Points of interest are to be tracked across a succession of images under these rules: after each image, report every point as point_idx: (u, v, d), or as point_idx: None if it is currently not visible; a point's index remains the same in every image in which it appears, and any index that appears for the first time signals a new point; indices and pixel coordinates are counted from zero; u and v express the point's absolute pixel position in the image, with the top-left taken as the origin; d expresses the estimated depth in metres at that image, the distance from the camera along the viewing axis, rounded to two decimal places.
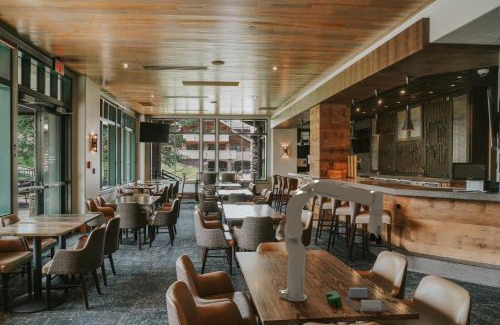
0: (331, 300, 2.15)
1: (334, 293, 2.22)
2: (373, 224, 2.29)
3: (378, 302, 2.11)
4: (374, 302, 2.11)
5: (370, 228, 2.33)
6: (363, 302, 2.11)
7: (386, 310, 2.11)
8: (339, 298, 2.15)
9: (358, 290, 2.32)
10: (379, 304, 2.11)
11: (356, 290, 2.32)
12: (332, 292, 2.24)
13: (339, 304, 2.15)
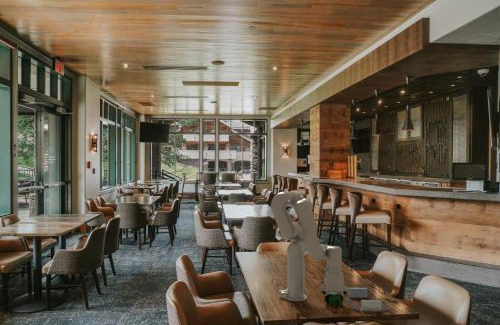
0: (331, 300, 2.15)
1: (334, 293, 2.22)
2: (341, 282, 2.18)
3: (378, 302, 2.11)
4: (374, 302, 2.11)
5: (334, 288, 2.18)
6: (363, 302, 2.11)
7: (386, 310, 2.11)
8: (339, 298, 2.15)
9: (358, 290, 2.32)
10: (379, 304, 2.11)
11: (356, 290, 2.32)
12: (332, 292, 2.24)
13: (339, 304, 2.15)
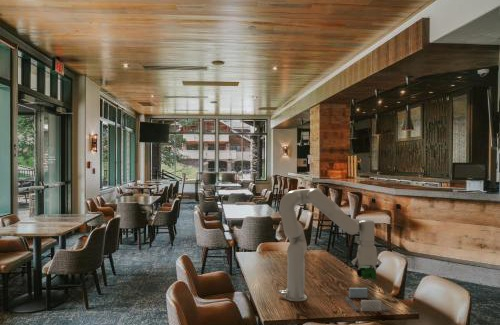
0: (365, 273, 2.14)
1: (366, 267, 2.22)
2: (374, 256, 2.17)
3: (378, 302, 2.11)
4: (374, 302, 2.11)
5: (367, 261, 2.17)
6: (363, 302, 2.11)
7: (386, 310, 2.11)
8: (373, 271, 2.14)
9: (358, 290, 2.32)
10: (379, 304, 2.11)
11: (356, 290, 2.32)
12: (364, 266, 2.23)
13: (373, 277, 2.14)
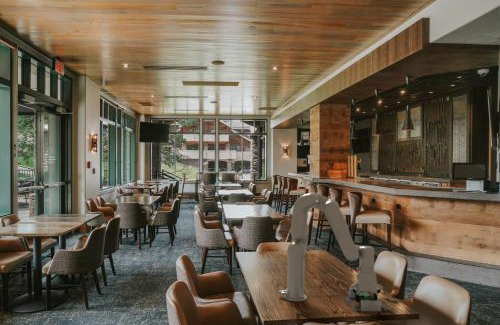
0: None
1: (365, 294, 2.21)
2: (374, 282, 2.17)
3: (378, 302, 2.11)
4: (374, 302, 2.11)
5: (366, 287, 2.17)
6: (363, 302, 2.11)
7: (386, 310, 2.11)
8: None
9: None
10: (379, 304, 2.11)
11: None
12: (363, 293, 2.23)
13: None
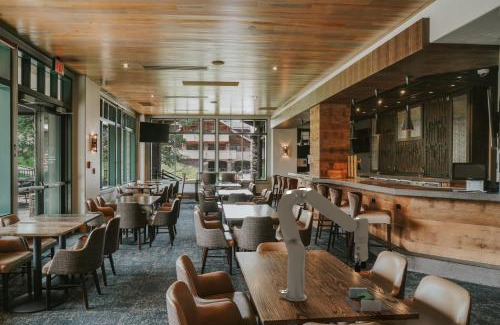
0: None
1: (366, 294, 2.21)
2: (367, 250, 2.32)
3: (378, 302, 2.11)
4: (374, 302, 2.11)
5: (365, 256, 2.28)
6: (363, 302, 2.11)
7: (386, 310, 2.11)
8: None
9: (358, 290, 2.32)
10: (379, 304, 2.11)
11: (356, 290, 2.32)
12: (364, 293, 2.23)
13: None
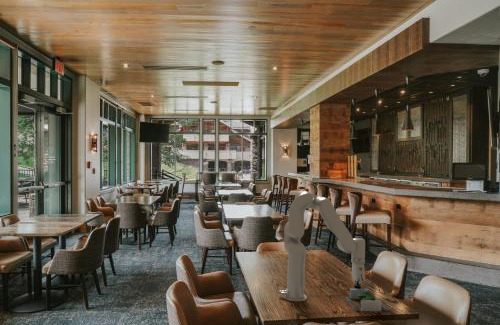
0: None
1: (367, 294, 2.21)
2: None
3: (378, 302, 2.11)
4: (374, 302, 2.11)
5: None
6: (363, 302, 2.11)
7: (386, 310, 2.11)
8: None
9: (359, 291, 2.30)
10: (379, 304, 2.11)
11: (357, 291, 2.30)
12: (365, 293, 2.23)
13: None
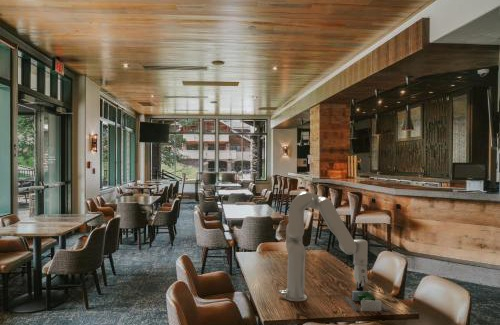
0: None
1: (367, 294, 2.21)
2: None
3: (378, 302, 2.11)
4: (374, 302, 2.11)
5: None
6: (363, 302, 2.11)
7: (386, 310, 2.11)
8: None
9: None
10: (379, 304, 2.11)
11: (359, 293, 2.26)
12: (365, 293, 2.23)
13: None
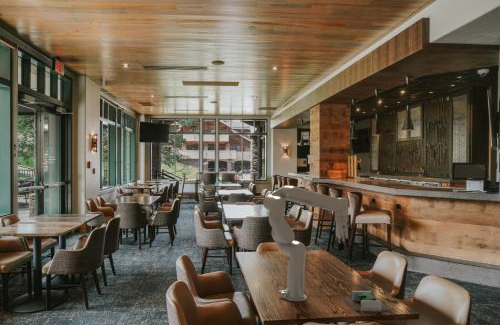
0: None
1: (367, 294, 2.21)
2: None
3: (378, 302, 2.11)
4: (374, 302, 2.11)
5: None
6: (363, 302, 2.11)
7: (386, 310, 2.11)
8: None
9: None
10: (379, 304, 2.11)
11: (359, 293, 2.26)
12: (365, 293, 2.23)
13: None
